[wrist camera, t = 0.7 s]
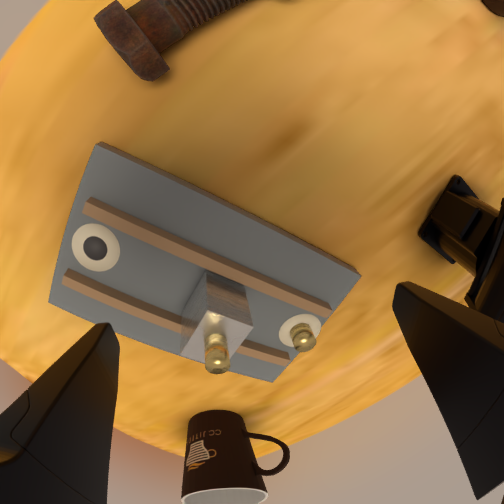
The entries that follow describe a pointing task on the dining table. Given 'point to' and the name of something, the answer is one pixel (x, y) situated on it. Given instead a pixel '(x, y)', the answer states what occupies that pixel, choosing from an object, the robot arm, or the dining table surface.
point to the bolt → (154, 29)
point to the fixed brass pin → (302, 337)
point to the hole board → (186, 262)
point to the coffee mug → (224, 461)
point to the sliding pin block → (215, 322)
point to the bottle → (495, 6)
